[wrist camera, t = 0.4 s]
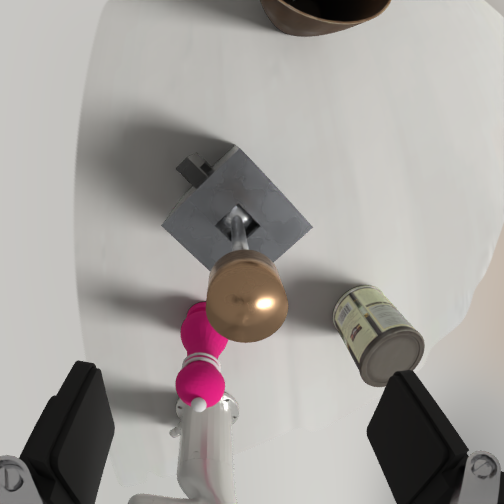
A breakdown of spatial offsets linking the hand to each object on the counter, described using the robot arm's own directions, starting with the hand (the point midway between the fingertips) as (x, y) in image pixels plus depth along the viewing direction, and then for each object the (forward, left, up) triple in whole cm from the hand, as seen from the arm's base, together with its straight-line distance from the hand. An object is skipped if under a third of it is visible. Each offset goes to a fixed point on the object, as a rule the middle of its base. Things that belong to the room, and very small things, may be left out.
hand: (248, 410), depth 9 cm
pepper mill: (-17, -11, -38) cm, 43 cm away
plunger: (0, 0, -24) cm, 24 cm away
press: (0, +1, -38) cm, 38 cm away
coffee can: (+2, -29, -38) cm, 48 cm away
